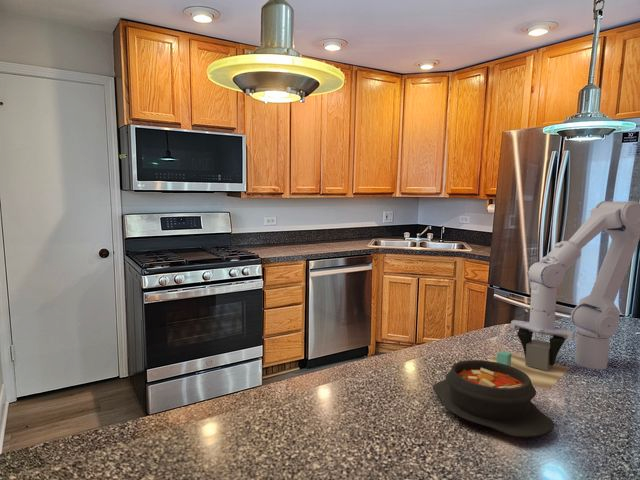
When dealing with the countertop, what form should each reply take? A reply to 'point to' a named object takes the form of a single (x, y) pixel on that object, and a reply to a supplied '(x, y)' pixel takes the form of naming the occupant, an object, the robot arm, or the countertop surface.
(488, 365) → the casserole
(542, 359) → the grey cube
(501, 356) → the sage green cube
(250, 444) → the countertop surface
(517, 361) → the board
